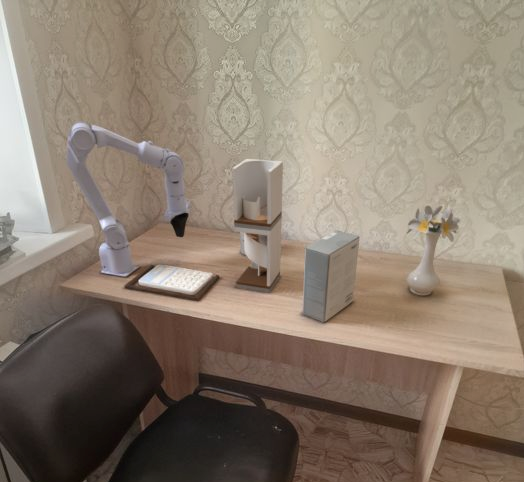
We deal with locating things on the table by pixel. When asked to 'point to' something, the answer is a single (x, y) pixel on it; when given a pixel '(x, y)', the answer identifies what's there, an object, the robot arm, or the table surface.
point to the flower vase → (430, 246)
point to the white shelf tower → (259, 220)
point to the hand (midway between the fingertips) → (180, 236)
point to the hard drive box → (329, 275)
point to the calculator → (176, 279)
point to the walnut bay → (172, 294)
